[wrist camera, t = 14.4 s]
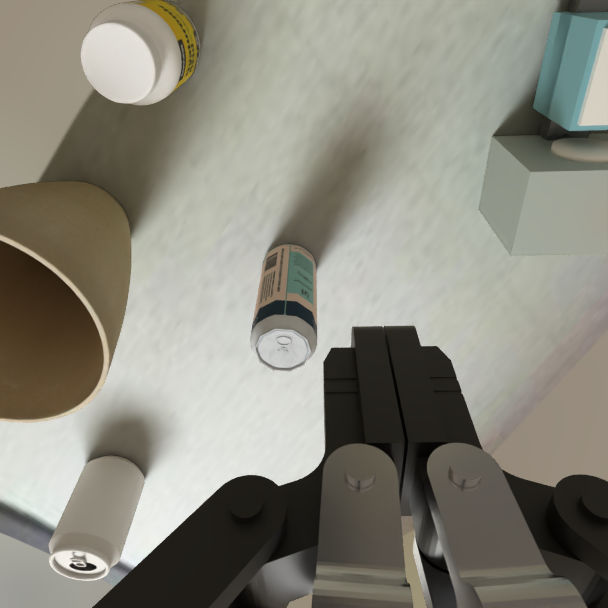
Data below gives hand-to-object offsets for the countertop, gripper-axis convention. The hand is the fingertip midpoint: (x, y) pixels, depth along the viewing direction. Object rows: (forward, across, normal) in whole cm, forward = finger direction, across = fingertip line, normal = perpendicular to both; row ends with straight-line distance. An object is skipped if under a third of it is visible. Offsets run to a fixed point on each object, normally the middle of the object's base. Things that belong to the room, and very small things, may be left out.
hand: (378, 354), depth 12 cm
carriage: (+29, -17, -2) cm, 34 cm away
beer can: (+29, +4, +14) cm, 33 cm away
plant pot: (+29, +21, +9) cm, 37 cm away
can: (+29, +27, +43) cm, 59 cm away
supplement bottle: (+29, +12, -4) cm, 32 cm away
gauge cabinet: (+29, -17, +6) cm, 34 cm away
